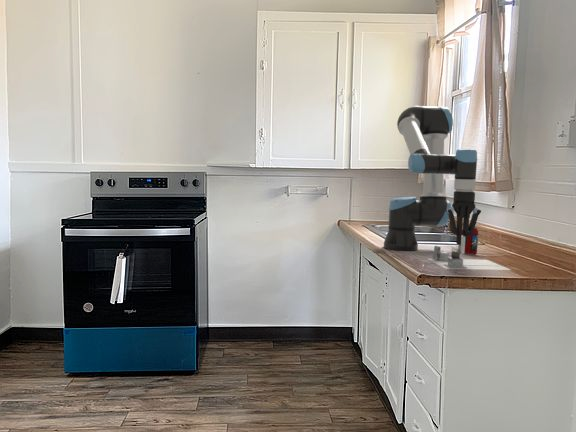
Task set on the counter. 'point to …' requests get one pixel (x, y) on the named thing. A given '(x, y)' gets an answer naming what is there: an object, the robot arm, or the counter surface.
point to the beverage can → (472, 242)
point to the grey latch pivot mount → (455, 263)
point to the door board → (473, 264)
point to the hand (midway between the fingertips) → (461, 253)
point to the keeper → (440, 254)
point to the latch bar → (455, 252)
